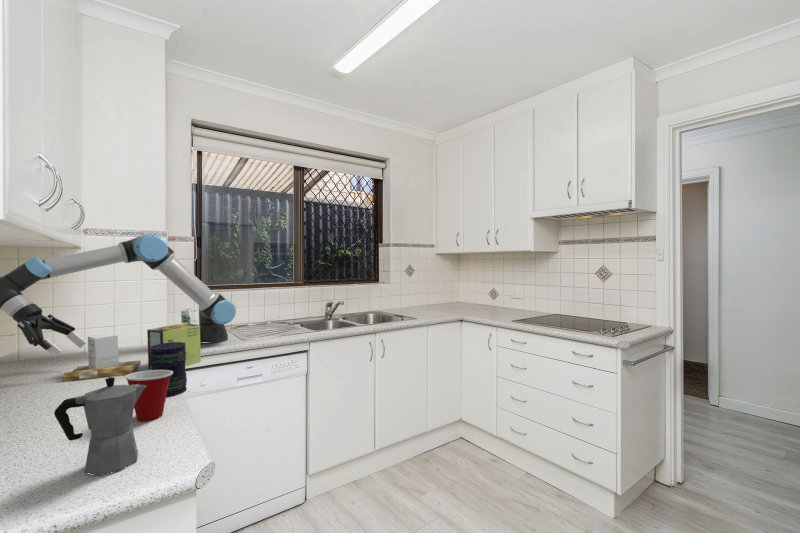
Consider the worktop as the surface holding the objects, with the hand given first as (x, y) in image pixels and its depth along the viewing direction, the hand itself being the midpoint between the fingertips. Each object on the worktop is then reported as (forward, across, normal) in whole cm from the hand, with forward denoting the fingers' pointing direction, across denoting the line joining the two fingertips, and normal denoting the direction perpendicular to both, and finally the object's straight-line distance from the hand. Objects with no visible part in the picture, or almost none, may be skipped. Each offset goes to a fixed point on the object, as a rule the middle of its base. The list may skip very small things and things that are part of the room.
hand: (71, 349), depth 142 cm
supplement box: (+13, 0, +2) cm, 13 cm away
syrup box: (+18, -71, +4) cm, 73 cm away
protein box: (+30, -6, +16) cm, 35 cm away
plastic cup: (+40, +47, +26) cm, 67 cm away
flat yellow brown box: (+14, -1, +1) cm, 14 cm away
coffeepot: (+42, +72, +28) cm, 88 cm away
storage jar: (+38, +27, +24) cm, 53 cm away
